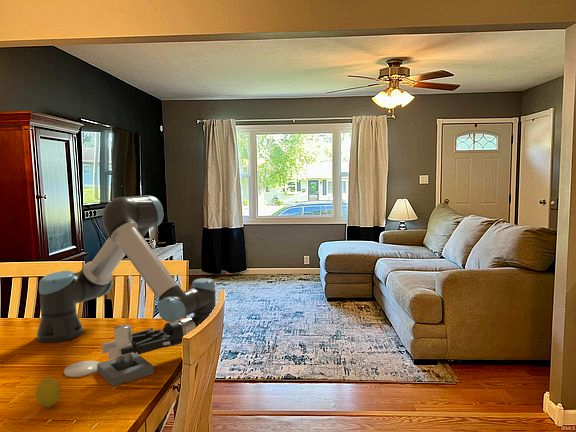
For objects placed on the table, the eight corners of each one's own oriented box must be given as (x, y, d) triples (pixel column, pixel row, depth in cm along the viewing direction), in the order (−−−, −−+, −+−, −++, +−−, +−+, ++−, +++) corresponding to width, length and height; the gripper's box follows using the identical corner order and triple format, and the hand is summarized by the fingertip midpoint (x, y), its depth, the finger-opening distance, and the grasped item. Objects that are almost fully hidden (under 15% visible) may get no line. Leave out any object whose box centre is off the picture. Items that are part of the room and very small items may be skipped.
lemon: (51, 414, 109) (49, 383, 108) (31, 412, 110) (29, 381, 109) (66, 403, 114) (64, 373, 114) (48, 401, 115) (46, 371, 115)
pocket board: (97, 371, 133) (96, 363, 132) (136, 360, 140) (135, 352, 140) (112, 386, 123) (112, 377, 123) (153, 373, 131) (153, 365, 130)
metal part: (114, 372, 132) (111, 327, 131) (130, 367, 135) (127, 323, 134) (120, 377, 128) (117, 331, 127) (136, 372, 131) (133, 327, 130)
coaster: (60, 369, 135) (60, 367, 135) (94, 360, 141) (94, 358, 141) (69, 380, 127) (69, 377, 127) (104, 370, 134) (104, 367, 134)
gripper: (193, 350, 136) (117, 373, 121) (167, 336, 150) (96, 355, 135) (192, 327, 136) (115, 347, 120) (166, 314, 149) (94, 331, 134)
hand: (105, 351), depth 128 cm, fingers closed on metal part, 5 cm apart
